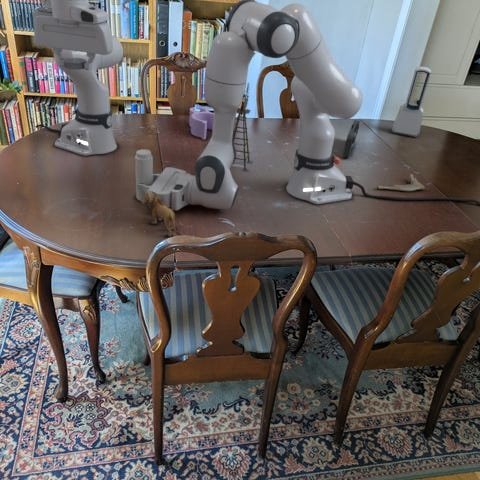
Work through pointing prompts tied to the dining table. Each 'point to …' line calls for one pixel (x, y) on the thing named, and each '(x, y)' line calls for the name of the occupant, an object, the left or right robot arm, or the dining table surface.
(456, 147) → the dining table surface
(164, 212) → the lion figurine
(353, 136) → the handheld gaming console
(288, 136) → the dining table surface
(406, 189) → the jawbone
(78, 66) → the lid
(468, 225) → the dining table surface
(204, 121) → the clip
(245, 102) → the miniature windmill
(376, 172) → the dining table surface
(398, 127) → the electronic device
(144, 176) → the jar
